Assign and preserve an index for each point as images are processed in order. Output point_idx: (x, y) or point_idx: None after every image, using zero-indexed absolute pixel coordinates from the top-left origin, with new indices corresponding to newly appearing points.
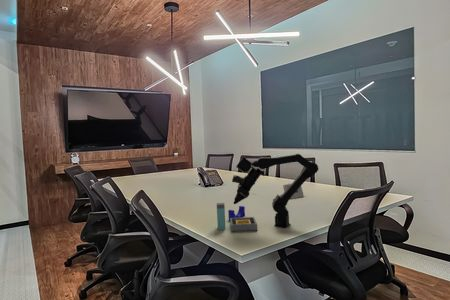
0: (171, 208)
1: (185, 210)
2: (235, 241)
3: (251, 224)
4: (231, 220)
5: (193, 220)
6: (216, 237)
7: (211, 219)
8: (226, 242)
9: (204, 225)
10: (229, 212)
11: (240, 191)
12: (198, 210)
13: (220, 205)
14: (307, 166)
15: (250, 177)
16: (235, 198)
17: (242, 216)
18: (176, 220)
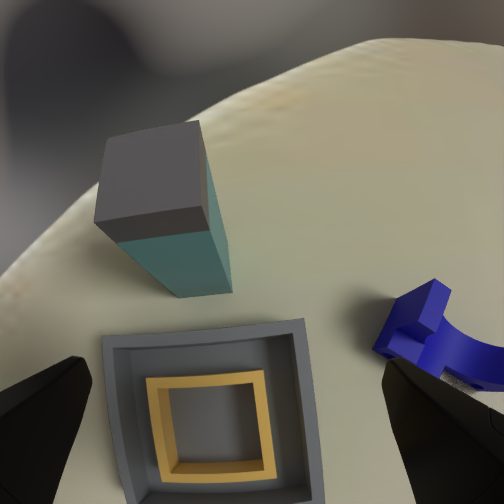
0: (475, 59)
1: (479, 89)
2: (7, 351)
3: (121, 479)
4: (225, 335)
5: (362, 106)
6: (58, 256)
7: (399, 185)
8: (4, 309)
9: (274, 159)
10: (421, 293)
11: None
12: (501, 130)
13: (105, 180)
14: None
15: None
16: (395, 381)
17: (464, 381)
18: (347, 57)
